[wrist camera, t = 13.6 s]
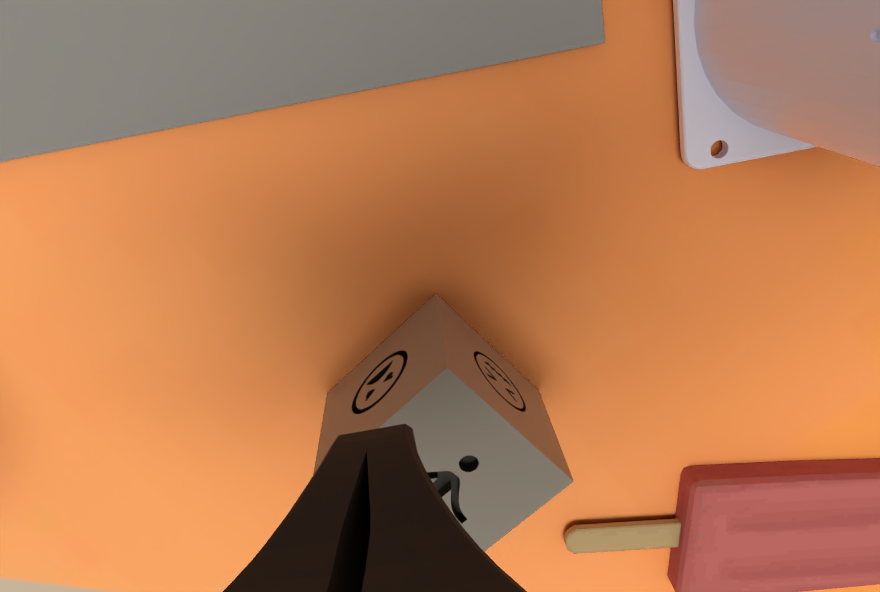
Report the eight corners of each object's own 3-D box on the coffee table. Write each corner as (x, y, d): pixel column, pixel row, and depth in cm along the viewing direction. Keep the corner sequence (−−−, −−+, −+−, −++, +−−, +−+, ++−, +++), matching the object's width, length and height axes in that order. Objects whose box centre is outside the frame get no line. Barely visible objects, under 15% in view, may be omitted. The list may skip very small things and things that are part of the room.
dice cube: (327, 391, 23) (311, 487, 19) (435, 292, 22) (447, 367, 18) (432, 478, 25) (441, 585, 20) (538, 389, 24) (573, 481, 19)
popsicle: (574, 493, 24) (994, 468, 25) (563, 465, 25) (961, 443, 26) (566, 612, 26) (955, 585, 27) (557, 580, 27) (926, 555, 28)
